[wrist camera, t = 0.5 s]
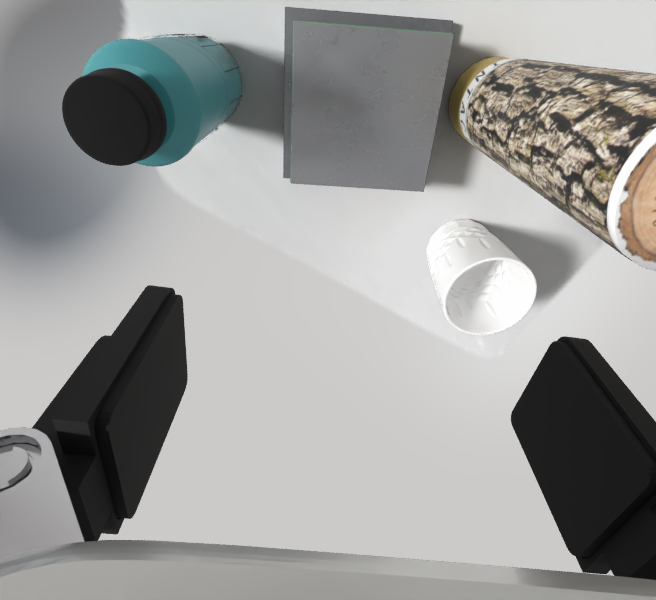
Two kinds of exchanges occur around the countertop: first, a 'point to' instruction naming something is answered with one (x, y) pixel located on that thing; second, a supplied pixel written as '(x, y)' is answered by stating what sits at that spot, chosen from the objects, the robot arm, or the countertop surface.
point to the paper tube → (570, 141)
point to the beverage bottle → (151, 99)
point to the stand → (362, 97)
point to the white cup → (478, 278)
